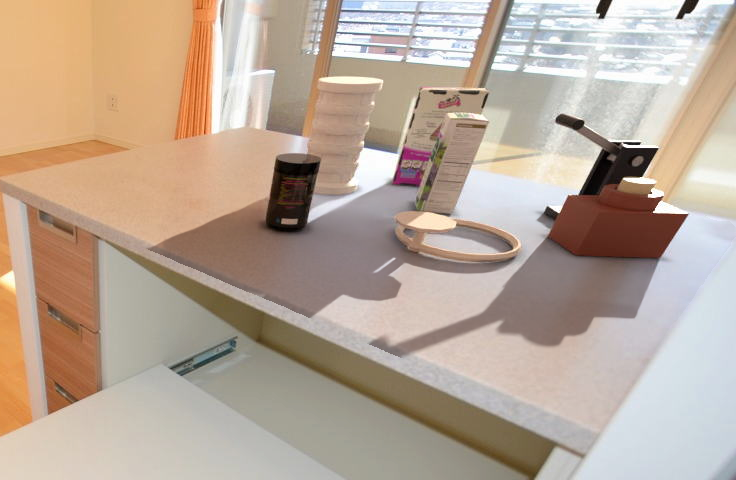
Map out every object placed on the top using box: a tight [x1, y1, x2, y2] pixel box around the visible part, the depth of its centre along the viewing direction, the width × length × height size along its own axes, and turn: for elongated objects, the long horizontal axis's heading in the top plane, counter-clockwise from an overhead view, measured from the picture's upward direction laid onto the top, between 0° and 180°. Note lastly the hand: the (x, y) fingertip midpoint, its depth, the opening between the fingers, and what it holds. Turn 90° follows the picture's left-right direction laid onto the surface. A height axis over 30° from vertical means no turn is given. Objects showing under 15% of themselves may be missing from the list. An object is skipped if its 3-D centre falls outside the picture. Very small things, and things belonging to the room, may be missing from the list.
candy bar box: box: [392, 86, 490, 188], centre depth 102 cm, size 11×5×16 cm, turn 67°
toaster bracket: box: [543, 139, 660, 221], centre depth 84 cm, size 9×10×12 cm
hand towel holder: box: [394, 210, 522, 263], centre depth 80 cm, size 17×4×21 cm
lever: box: [554, 112, 629, 162], centre depth 81 cm, size 13×5×2 cm, turn 82°
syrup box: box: [414, 113, 490, 215], centre depth 91 cm, size 6×6×14 cm
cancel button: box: [617, 177, 657, 195], centre depth 75 cm, size 4×4×2 cm
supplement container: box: [264, 152, 321, 233], centre depth 86 cm, size 7×7×10 cm
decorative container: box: [306, 75, 384, 196], centre depth 102 cm, size 12×12×18 cm
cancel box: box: [547, 184, 690, 259], centre depth 77 cm, size 11×8×8 cm
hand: (638, 18), depth 76 cm, fingers open, 8 cm apart
